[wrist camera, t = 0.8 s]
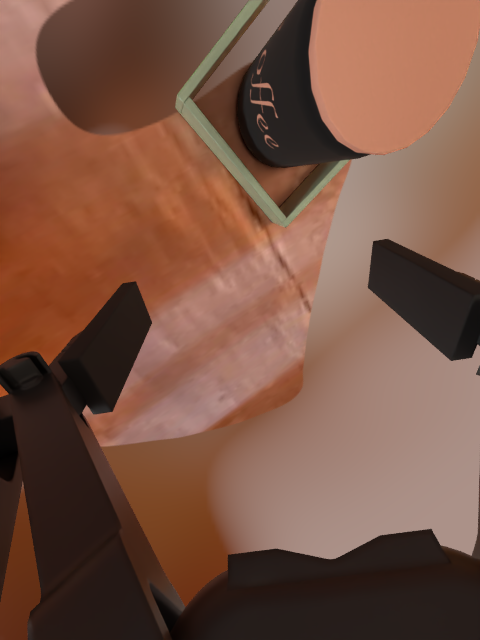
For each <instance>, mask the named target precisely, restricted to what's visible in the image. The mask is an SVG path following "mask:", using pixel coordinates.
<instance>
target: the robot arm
mask: <svg viewBox="0 0 480 640" xmlns="http://www.w3.org/2000/svg"><path fill="white" fill-rule="evenodd" d="M368 288H369V289H370V290H371V291H372V292H373V293H375V294H376V295H377V296H378V297H379V298H380V299H382V301H384V302H385V303H386V304H387V305H388V306H389V307H390V308H392V309H393V310H394V311H395V312H396V313H397V314H398V315H400V316H401V317H402V318H403V319H404V320H405V321H406V322H407V323H409V324H410V325H411V326H412V327H413V328H414V329H416V330H417V331H418V332H419V333H420V334H421V335H422V336H423V337H425V338H426V339H427V340H428V341H429V342H430V343H431V344H432V345H434V346H435V347H436V348H437V349H438V350H439V351H440V352H442V353H443V354H444V355H445V356H446V357H447V358H449V359H450V360H451V361H453V360H460V359H466V358H472V356H473V354H474V351H475V349H476V346H477V344H478V345H479V346H480V281H479V280H475V278H473V277H471V276H468V275H466V274H464V273H460V272H456V271H454V270H452V269H449V268H447V267H445V266H443V265H441V264H439V263H437V262H435V261H433V260H431V259H429V258H426V257H424V256H422V255H420V254H418V253H416V252H414V251H412V250H410V249H408V248H405V247H403V246H401V245H399V244H397V243H395V242H393V241H391V240H389V239H384V240H379V241H373V247H372V256H371V265H370V274H369V283H368ZM151 324H152V321H151V319H150V316H149V314H148V311H147V308H146V306H145V303H144V301H143V298H142V296H141V293H140V291H139V288H138V286H137V283H136V281H135V282H129V283H123V284H122V285H121V286H120V287H119V288H118V289H117V291H116V292H115V293H114V294H113V295H112V297H111V298H110V299H109V300H108V301H107V303H106V304H105V305H104V306H103V308H102V309H101V310H100V311H99V312H98V314H97V315H96V316H95V317H94V318H93V320H92V321H91V322H90V323H89V324H88V326H87V327H86V328H85V329H84V330H83V331H81V332H80V333H79V334H77V335H76V336H75V337H73V338H72V339H71V340H70V342H69V343H68V344H67V346H66V347H64V349H63V350H62V351H61V353H59V354H58V356H57V357H56V358H55V359H54V360H53V361H52V363H51V364H50V365H49V366H48V365H47V363H46V362H45V361H44V359H43V358H42V357H41V355H40V354H39V353H38V352H27V353H23V354H20V355H18V356H15V357H13V358H11V359H9V360H7V361H6V362H4V363H3V364H2V365H0V384H1V385H2V387H3V388H4V389H5V390H6V391H7V392H8V393H9V395H6V396H3V397H0V600H1V595H2V590H3V584H4V579H5V573H6V568H7V563H8V557H9V552H10V547H11V541H12V535H13V530H14V525H15V519H16V513H17V509H18V503H19V498H20V493H21V487H22V482H23V483H24V489H25V496H26V502H27V508H28V514H29V520H30V526H31V533H32V538H33V545H34V551H35V556H36V562H37V569H38V575H39V581H40V587H41V600H40V603H39V604H38V605H37V606H36V607H35V608H34V609H33V610H32V611H31V612H30V616H29V620H28V640H480V477H479V517H478V518H479V519H478V535H477V540H476V544H475V547H474V551H473V553H472V556H470V555H468V554H466V553H463V552H461V551H458V550H454V549H452V548H448V547H445V546H441V545H440V544H439V542H438V540H437V538H436V537H435V535H434V533H433V531H432V529H427V530H420V531H412V532H404V533H396V534H388V535H381V536H378V537H377V538H375V539H373V540H371V541H369V542H367V543H365V544H363V545H361V546H359V547H357V548H356V549H354V550H352V551H350V552H348V553H346V554H344V555H342V556H340V557H338V558H336V559H324V558H319V557H315V556H310V555H305V554H300V553H295V552H290V551H285V550H280V549H270V550H262V551H255V552H247V553H239V554H231V555H228V570H227V571H225V572H223V573H221V574H220V575H218V576H217V577H215V578H214V579H213V580H211V581H210V582H209V583H207V584H206V585H205V586H204V587H203V588H202V589H201V590H200V591H199V592H198V593H197V594H196V596H195V597H194V598H193V599H192V600H191V601H190V602H189V604H188V605H187V606H186V608H185V606H184V604H183V602H182V601H181V599H180V597H179V595H178V594H177V592H176V590H175V589H174V587H173V586H172V584H171V583H170V581H169V580H168V578H167V576H166V574H165V573H164V571H163V569H162V567H161V565H160V563H159V561H158V559H157V557H156V555H155V553H154V551H153V550H152V547H151V545H150V543H149V542H148V540H147V538H146V536H145V534H144V532H143V530H142V528H141V526H140V524H139V522H138V520H137V518H136V516H135V514H134V512H133V510H132V508H131V506H130V504H129V502H128V500H127V498H126V496H125V494H124V492H123V490H122V489H121V486H120V484H119V482H118V481H117V479H116V477H115V475H114V473H113V471H112V469H111V467H110V465H109V463H108V461H107V459H106V457H105V455H104V453H103V451H102V449H101V447H100V445H99V443H98V441H97V439H96V437H95V435H94V433H93V431H92V429H91V427H90V425H89V423H88V421H87V420H86V418H85V416H84V415H83V414H82V412H83V410H84V408H85V406H86V405H87V406H88V407H89V408H90V410H91V411H92V413H93V414H100V413H107V412H112V411H113V409H114V407H115V405H116V402H117V400H118V398H119V396H120V394H121V391H122V389H123V387H124V385H125V382H126V380H127V378H128V376H129V373H130V371H131V369H132V367H133V364H134V362H135V360H136V358H137V355H138V353H139V351H140V349H141V346H142V344H143V342H144V340H145V338H146V335H147V333H148V331H149V329H150V326H151ZM476 375H480V366H479V368H478V371H477V373H476Z"/></svg>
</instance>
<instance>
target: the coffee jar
mask: <svg viewBox="0 0 480 640" xmlns="http://www.w3.org/2000/svg"><path fill="white" fill-rule="evenodd" d="M479 29H480V0H298V1H297V3H296V4H295V6H294V7H293V8H292V10H291V11H290V12H289V14H288V15H287V17H286V18H285V19H284V20H283V22H282V23H281V25H280V26H279V27H278V29H277V30H276V31H275V33H274V34H273V35H272V37H271V38H270V40H269V41H268V42H267V44H266V45H265V46H264V48H263V49H262V50H261V52H260V53H259V54H258V56H257V57H256V58H255V60H254V61H253V63H252V64H251V66H250V68H249V69H248V71H247V72H246V74H245V75H244V77H243V81H242V84H241V88H240V91H239V94H238V111H237V117H238V121H239V126H240V131H241V135H242V137H243V139H244V141H245V143H246V145H247V147H248V149H249V150H250V151H251V152H252V153H253V154H254V155H255V156H256V158H257V159H258V160H259V161H261V162H263V163H265V164H267V165H269V166H271V167H281V168H287V167H295V166H302V165H310V164H318V163H326V162H334V161H341V160H349V159H356V158H361V157H364V156H367V155H370V154H375V155H385V154H388V153H391V152H394V151H397V150H401V149H404V148H406V147H408V146H409V145H411V144H412V143H413V142H415V141H416V140H418V139H419V138H420V137H422V136H423V135H425V134H426V133H427V132H429V131H430V129H431V128H432V127H433V126H434V125H435V123H436V122H437V121H438V120H439V119H440V117H441V116H442V115H443V114H444V113H445V112H446V110H447V109H448V108H449V106H450V104H451V102H452V100H453V99H454V97H455V95H456V93H457V91H458V90H459V88H460V86H461V84H462V82H463V80H464V79H465V77H466V74H467V71H468V68H469V65H470V62H471V59H472V55H473V53H474V50H475V47H476V44H477V41H478V35H479Z"/></svg>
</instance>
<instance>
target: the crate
mask: <svg viewBox="0 0 480 640" xmlns="http://www.w3.org/2000/svg"><path fill="white" fill-rule="evenodd" d="M268 2H269V0H249V1H248V2H247V4H246V5H245V6H244V8H243V9H242V10H241V12H240V13H239V14H238V15H237V17H236V18H235V19H234V21H233V22H232V23H231V25H230V26H229V27H228V29H227V30H226V31H225V33H224V34H223V35H222V36H221V38H220V39H219V40H218V42H217V43H216V44H215V46H214V47H213V48H212V50H211V51H210V52H209V54H208V55H207V56H206V57H205V59H204V60H203V61H202V63H201V64H200V65H199V67H198V68H197V69H196V71H195V72H194V73H193V74H192V76H191V77H190V79H189V80H188V81H187V82H186V84H185V85H184V86H183V88H182V89H181V90H180V92H179V93H178V94H177V99H176V105H175V108H176V109H177V110H178V112H179V113H180V114H181V115H182V116H183V117H184V119H185V120H186V121H187V122H188V123H189V125H190V126H191V127H192V128H193V129H194V130H195V132H196V133H197V134H198V135H199V136H200V138H201V139H202V140H203V141H204V142H205V143H206V145H207V146H208V147H209V148H210V149H211V150H212V152H213V153H214V154H215V155H216V156H217V158H218V159H219V160H220V161H221V162H222V163H223V165H224V166H225V167H226V168H227V169H228V171H229V172H230V173H231V174H232V175H233V176H234V178H235V179H236V180H237V181H238V182H239V184H240V185H241V186H242V187H243V188H244V189H245V191H246V192H247V193H248V194H249V195H250V196H251V198H252V199H253V200H254V201H255V202H256V204H257V205H258V206H259V207H260V208H261V209H262V211H263V212H264V213H265V214H266V215H267V217H268V218H269V219H270V220H271V221H272V223H275V224H278V225H280V226H283V227H287V226H288V225H289V224H290V223H291V222H292V221H293V220H294V219H295V218H296V217H297V215H298V214H299V213H300V212H301V211H302V210H303V209H304V208H305V207H306V206H307V205H308V204H309V203H310V202H311V201H312V199H313V198H314V197H315V196H316V195H317V194H318V193H319V192H320V191H321V190H322V189H323V188H324V187H325V186H326V185H327V184H328V182H329V181H330V180H331V179H332V178H333V177H334V176H335V175H336V174H337V173H338V172H339V171H340V170H341V169H342V168H343V167H344V165H345V164H346V163H347V162H348V161H349V160H350V159H349V160H341V161H334V162H326V163H320V164H319V165H318V166H317V167H316V168H315V169H314V170H313V172H312V173H311V174H310V175H309V176H308V177H307V178H306V179H305V180H304V181H303V182H302V184H301V185H300V186H299V187H298V188H297V189H296V190H295V191H294V192H293V193H292V194H291V196H290V197H289V198H288V199H287V200H286V201H285V202H284V203H283V204H282V205H281V206H280V207H279V208H278V206H277V205H276V204H275V203H274V201H273V200H272V199H271V198H270V196H269V195H268V194H267V193H266V191H265V190H264V189H263V188H262V186H261V185H260V184H259V183H258V182H257V180H256V179H255V178H254V177H253V175H252V174H251V173H250V172H249V170H248V169H247V168H246V167H245V165H244V164H243V163H242V162H241V160H240V159H239V158H238V157H237V155H236V154H235V153H234V152H233V150H232V149H231V148H230V147H229V145H228V144H227V143H226V142H225V140H224V139H223V138H222V137H221V135H220V134H219V133H218V132H217V130H216V129H215V128H214V127H213V125H212V124H211V123H210V122H209V120H208V119H207V118H206V117H205V115H204V114H203V113H202V112H201V110H200V109H199V108H198V107H197V105H196V104H195V103H194V102H193V100H192V99H193V98H194V97H195V95H196V94H197V93H198V92H199V90H200V89H201V88H202V86H203V85H204V84H205V83H206V81H207V80H208V79H209V78H210V76H211V75H212V74H213V72H214V71H215V70H216V68H217V67H218V66H219V65H220V63H221V62H222V61H223V59H224V58H225V57H226V55H227V54H228V53H229V52H230V50H231V49H232V48H233V47H234V45H235V44H236V43H237V41H238V40H239V39H240V37H241V36H242V35H243V34H244V32H245V31H246V30H247V29H248V27H249V26H250V25H251V23H252V22H253V21H254V20H255V18H256V17H257V16H258V14H259V13H260V12H261V10H262V9H263V8H264V7H265V5H266V4H267V3H268Z"/></svg>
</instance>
